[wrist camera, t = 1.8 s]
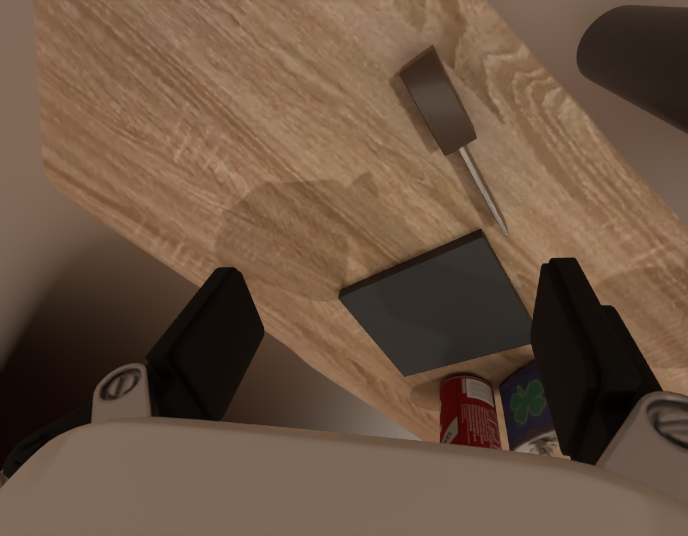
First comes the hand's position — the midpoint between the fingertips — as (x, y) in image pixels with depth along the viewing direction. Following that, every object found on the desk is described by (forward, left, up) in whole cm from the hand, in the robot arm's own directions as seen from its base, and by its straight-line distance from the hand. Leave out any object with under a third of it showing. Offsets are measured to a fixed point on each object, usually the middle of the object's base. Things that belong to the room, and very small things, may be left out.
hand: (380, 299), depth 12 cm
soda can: (+11, +34, -24) cm, 43 cm away
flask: (+3, +34, -24) cm, 41 cm away
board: (+8, +20, -23) cm, 32 cm away
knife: (-2, +4, -23) cm, 24 cm away
